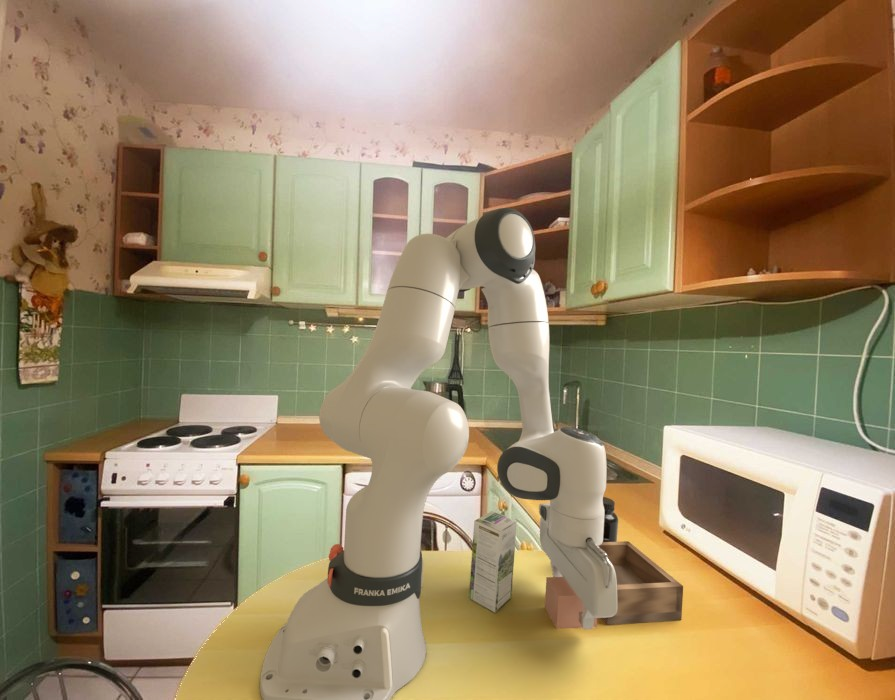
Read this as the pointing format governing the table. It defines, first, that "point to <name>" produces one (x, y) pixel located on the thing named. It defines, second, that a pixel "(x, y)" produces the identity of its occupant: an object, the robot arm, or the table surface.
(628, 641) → the table surface
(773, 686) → the table surface
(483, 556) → the syrup box
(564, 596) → the pink rectangular block
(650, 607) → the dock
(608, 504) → the supplement bottle
